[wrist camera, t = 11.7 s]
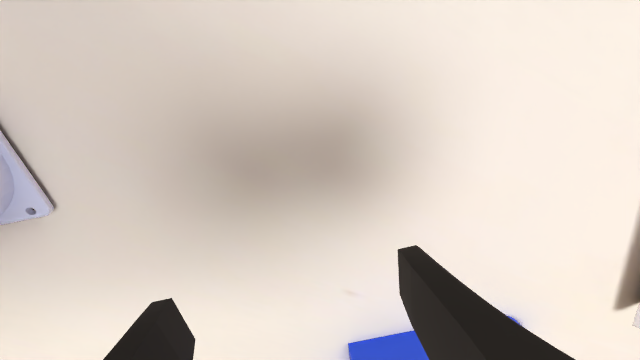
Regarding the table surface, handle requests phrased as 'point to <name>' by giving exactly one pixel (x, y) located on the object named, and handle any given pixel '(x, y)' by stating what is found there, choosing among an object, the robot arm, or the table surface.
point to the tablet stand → (637, 318)
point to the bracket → (390, 348)
